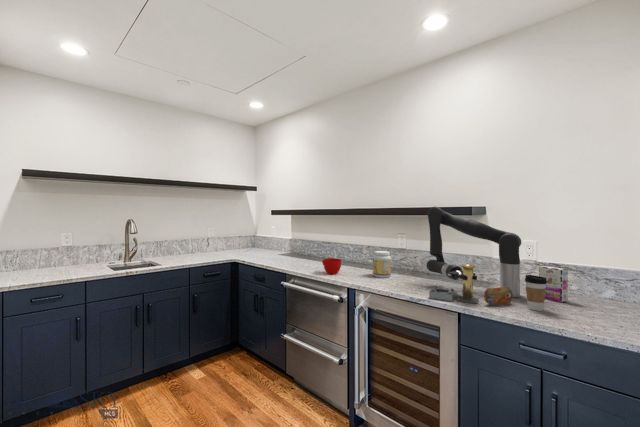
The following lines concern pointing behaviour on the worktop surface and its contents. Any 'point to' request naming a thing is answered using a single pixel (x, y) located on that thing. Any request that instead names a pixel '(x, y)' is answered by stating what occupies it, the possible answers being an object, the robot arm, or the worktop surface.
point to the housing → (442, 294)
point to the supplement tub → (382, 264)
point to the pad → (468, 300)
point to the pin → (468, 280)
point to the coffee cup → (535, 292)
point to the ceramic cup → (332, 265)
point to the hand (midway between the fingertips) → (471, 278)
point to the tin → (498, 295)
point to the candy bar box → (555, 283)
